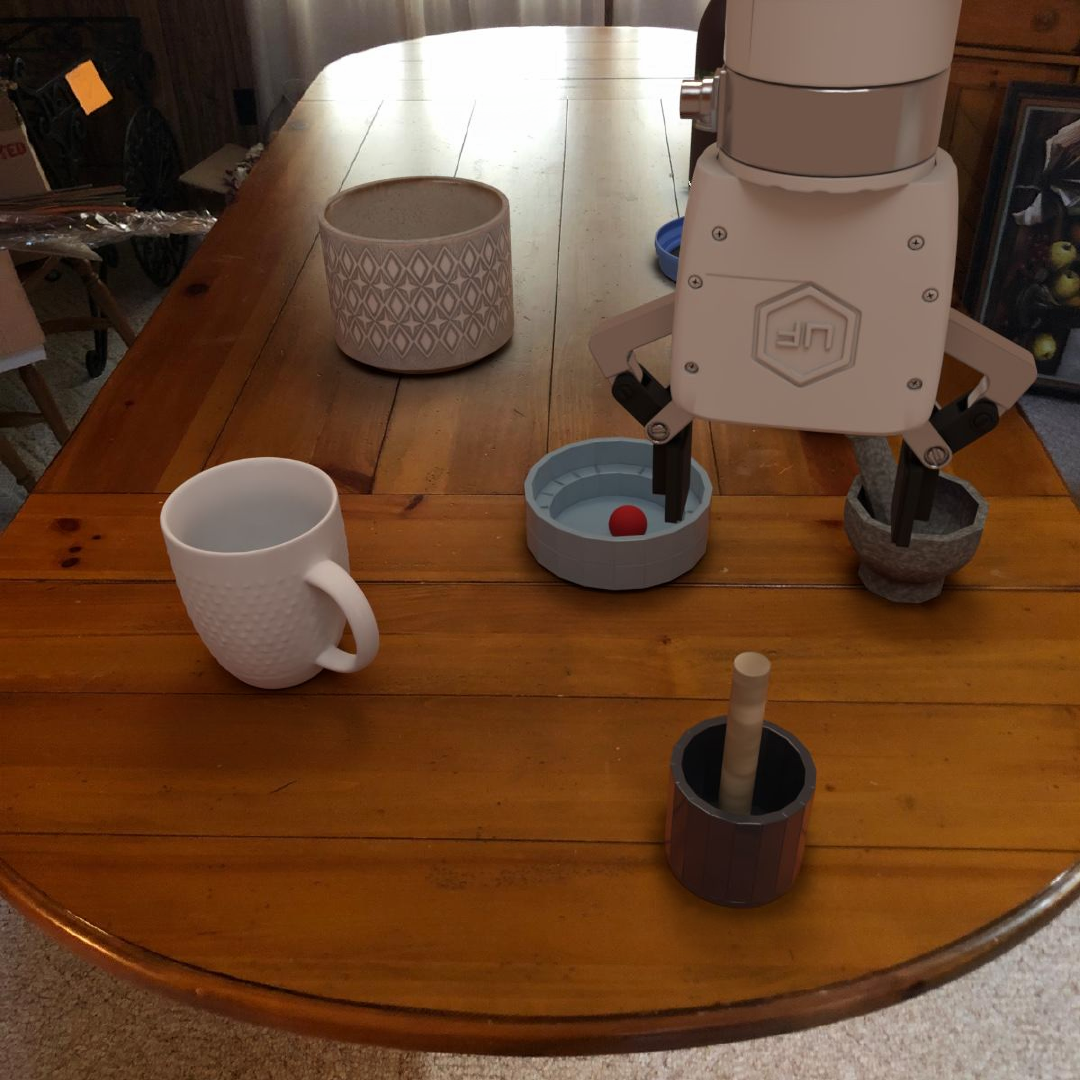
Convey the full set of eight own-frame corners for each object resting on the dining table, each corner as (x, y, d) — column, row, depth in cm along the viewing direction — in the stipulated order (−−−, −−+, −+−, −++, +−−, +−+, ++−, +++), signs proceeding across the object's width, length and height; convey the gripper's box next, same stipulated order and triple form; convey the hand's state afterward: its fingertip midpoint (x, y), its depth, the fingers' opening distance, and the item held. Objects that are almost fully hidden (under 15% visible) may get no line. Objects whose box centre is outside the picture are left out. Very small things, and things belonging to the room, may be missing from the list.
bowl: (800, 238, 136) (804, 210, 134) (815, 299, 121) (819, 268, 119) (654, 236, 137) (655, 208, 135) (652, 296, 123) (653, 266, 121)
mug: (437, 664, 75) (421, 508, 68) (324, 764, 68) (291, 603, 60) (285, 587, 82) (254, 438, 75) (168, 671, 75) (120, 516, 68)
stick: (746, 836, 62) (771, 653, 54) (744, 861, 61) (769, 678, 53) (714, 831, 63) (735, 649, 54) (712, 856, 61) (732, 673, 53)
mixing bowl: (717, 499, 91) (721, 447, 88) (694, 607, 80) (698, 552, 77) (550, 479, 94) (549, 428, 91) (505, 581, 82) (503, 527, 80)
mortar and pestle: (992, 575, 82) (1031, 437, 75) (931, 637, 76) (966, 494, 69) (858, 517, 88) (882, 384, 81) (793, 570, 83) (813, 433, 76)
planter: (374, 400, 105) (355, 257, 97) (313, 327, 119) (292, 195, 110) (545, 356, 112) (542, 218, 103) (470, 291, 125) (461, 164, 117)
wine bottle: (678, 186, 152) (690, -58, 134) (721, 178, 154) (739, -63, 137) (705, 202, 147) (722, -50, 129) (749, 193, 149) (772, -55, 131)
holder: (804, 809, 64) (819, 726, 60) (796, 921, 58) (812, 837, 54) (675, 787, 66) (681, 704, 62) (655, 893, 60) (660, 809, 56)
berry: (643, 502, 86) (646, 502, 83) (647, 540, 86) (651, 541, 83) (605, 507, 86) (607, 507, 83) (610, 545, 86) (612, 546, 83)
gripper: (563, 142, 37) (576, 546, 47) (1115, 159, 33) (1000, 593, 44) (606, 85, 43) (609, 455, 53) (1080, 93, 39) (986, 490, 49)
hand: (785, 517), depth 48 cm, fingers open, 9 cm apart
